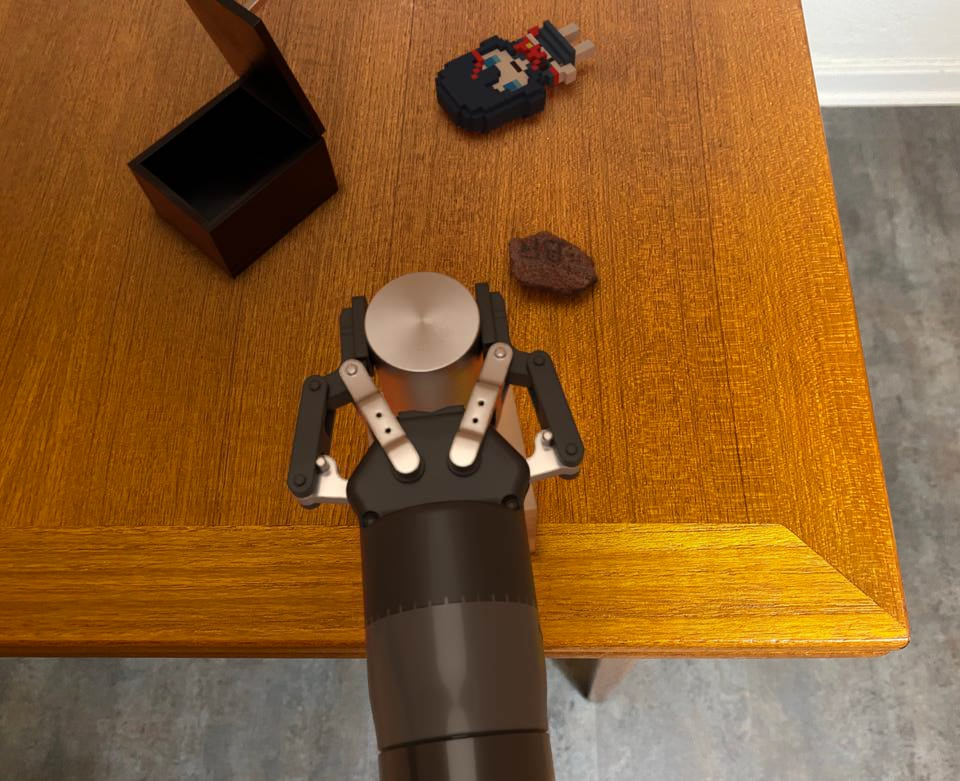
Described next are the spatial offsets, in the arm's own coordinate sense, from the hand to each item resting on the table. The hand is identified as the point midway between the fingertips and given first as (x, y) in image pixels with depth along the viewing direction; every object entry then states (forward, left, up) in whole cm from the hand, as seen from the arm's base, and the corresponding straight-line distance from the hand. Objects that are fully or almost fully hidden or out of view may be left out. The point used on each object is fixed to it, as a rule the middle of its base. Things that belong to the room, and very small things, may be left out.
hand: (421, 298), depth 45 cm
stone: (+11, +16, -25) cm, 31 cm away
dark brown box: (-14, +29, -25) cm, 40 cm away
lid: (-11, +31, -11) cm, 35 cm away
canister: (0, -2, -10) cm, 10 cm away
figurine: (+12, +37, -25) cm, 46 cm away
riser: (0, -2, -25) cm, 25 cm away
